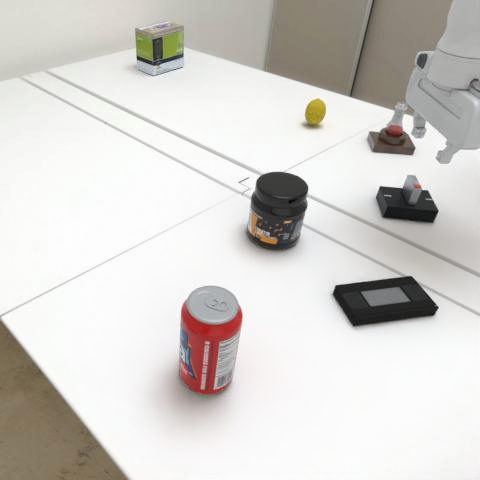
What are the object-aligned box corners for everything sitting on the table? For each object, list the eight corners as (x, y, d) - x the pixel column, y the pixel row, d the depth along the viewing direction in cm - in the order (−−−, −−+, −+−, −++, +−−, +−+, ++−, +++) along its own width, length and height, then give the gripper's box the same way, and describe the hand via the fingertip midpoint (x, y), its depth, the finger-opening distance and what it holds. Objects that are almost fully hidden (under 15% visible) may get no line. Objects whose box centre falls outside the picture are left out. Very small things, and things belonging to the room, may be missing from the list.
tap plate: (423, 201, 101) (428, 189, 99) (433, 222, 95) (439, 210, 93) (375, 197, 102) (380, 185, 100) (382, 218, 96) (387, 205, 94)
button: (399, 131, 120) (401, 125, 119) (402, 137, 117) (404, 131, 116) (384, 130, 120) (386, 124, 119) (387, 136, 118) (389, 130, 117)
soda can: (224, 406, 62) (235, 335, 53) (170, 387, 65) (172, 316, 55) (238, 361, 68) (250, 290, 59) (188, 346, 70) (192, 275, 61)
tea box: (166, 61, 177) (166, 19, 168) (184, 67, 171) (185, 25, 162) (136, 69, 169) (134, 26, 160) (153, 76, 163) (152, 32, 154)
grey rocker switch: (401, 190, 99) (407, 173, 96) (409, 191, 99) (416, 174, 96) (407, 204, 95) (414, 187, 92) (415, 205, 94) (422, 188, 92)
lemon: (301, 128, 130) (307, 100, 125) (303, 120, 134) (309, 93, 129) (321, 130, 129) (328, 103, 124) (323, 122, 133) (329, 96, 128)
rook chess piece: (389, 126, 131) (398, 99, 126) (404, 131, 128) (414, 104, 123) (381, 130, 129) (390, 103, 124) (396, 136, 126) (406, 108, 121)
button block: (405, 141, 123) (410, 127, 121) (412, 155, 117) (418, 141, 115) (366, 138, 125) (371, 124, 122) (372, 152, 119) (376, 138, 116)
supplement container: (235, 233, 92) (241, 182, 85) (268, 213, 97) (277, 164, 90) (276, 259, 86) (287, 207, 78) (310, 237, 91) (323, 185, 84)
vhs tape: (332, 293, 79) (334, 285, 78) (407, 283, 81) (411, 275, 79) (353, 326, 73) (356, 318, 72) (434, 315, 75) (439, 307, 74)
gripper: (522, 94, 64) (479, 179, 72) (448, 49, 80) (420, 123, 88) (477, 94, 64) (439, 179, 72) (412, 50, 80) (388, 124, 88)
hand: (428, 148), depth 80 cm, fingers open, 8 cm apart
